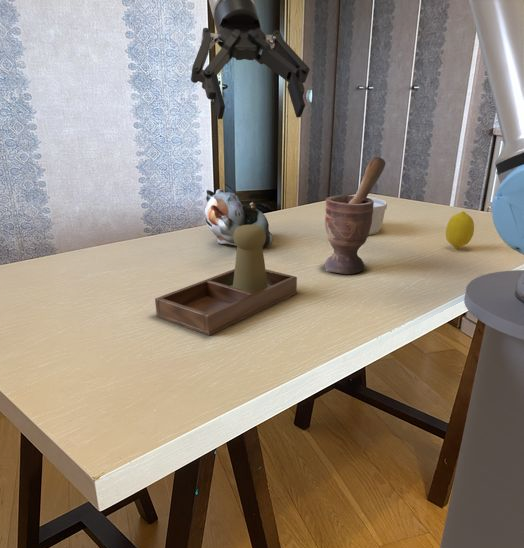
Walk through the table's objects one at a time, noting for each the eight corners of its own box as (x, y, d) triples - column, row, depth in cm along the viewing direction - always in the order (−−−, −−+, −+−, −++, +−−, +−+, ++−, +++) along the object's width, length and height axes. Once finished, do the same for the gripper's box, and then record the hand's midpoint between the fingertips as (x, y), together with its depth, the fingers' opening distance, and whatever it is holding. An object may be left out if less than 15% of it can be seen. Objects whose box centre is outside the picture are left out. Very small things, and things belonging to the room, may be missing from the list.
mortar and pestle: (342, 256, 109) (349, 153, 100) (381, 263, 105) (392, 156, 96) (314, 270, 101) (319, 159, 92) (355, 279, 96) (365, 163, 87)
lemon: (475, 249, 113) (482, 212, 109) (459, 254, 110) (465, 215, 106) (454, 244, 117) (460, 207, 113) (437, 248, 114) (443, 210, 111)
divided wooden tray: (296, 293, 90) (297, 276, 88) (209, 335, 75) (208, 316, 73) (246, 280, 96) (246, 264, 94) (156, 316, 81) (154, 298, 80)
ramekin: (394, 229, 129) (397, 200, 126) (365, 240, 120) (368, 209, 117) (348, 221, 136) (350, 193, 133) (318, 231, 128) (319, 201, 125)
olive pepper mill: (273, 295, 87) (274, 228, 82) (238, 299, 85) (236, 232, 80) (261, 283, 92) (261, 220, 87) (227, 287, 90) (225, 223, 85)
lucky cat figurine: (276, 250, 112) (250, 195, 103) (225, 271, 115) (195, 219, 105) (269, 215, 123) (244, 162, 114) (222, 235, 126) (195, 185, 116)
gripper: (295, 34, 99) (324, 126, 93) (161, 31, 92) (184, 130, 86) (307, -4, 92) (339, 93, 86) (163, -11, 85) (188, 94, 79)
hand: (262, 112), depth 86 cm, fingers open, 13 cm apart
